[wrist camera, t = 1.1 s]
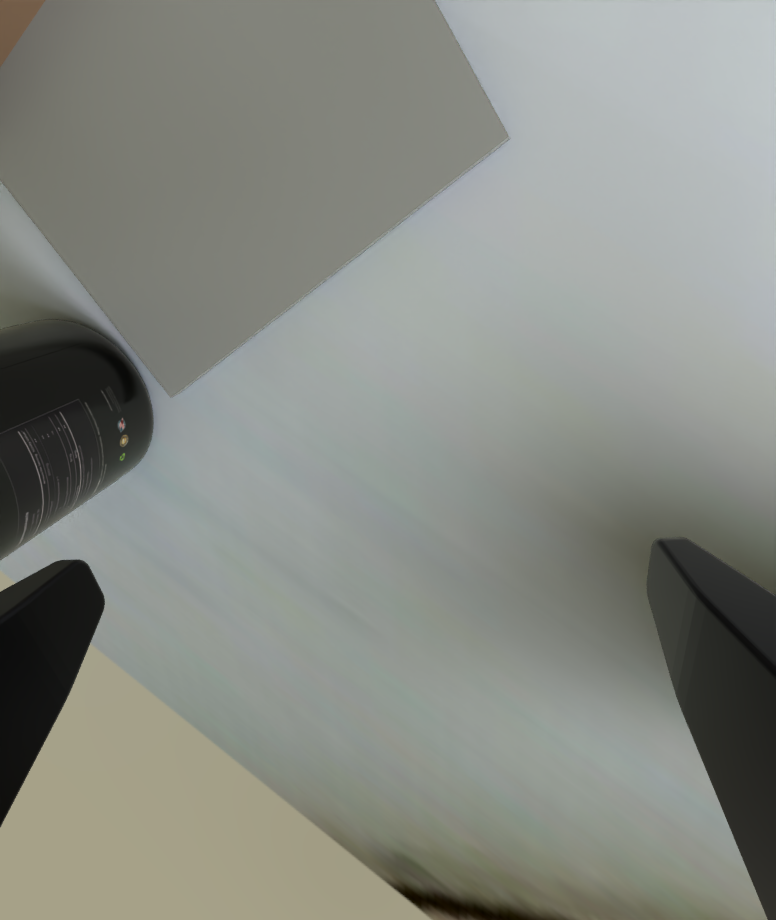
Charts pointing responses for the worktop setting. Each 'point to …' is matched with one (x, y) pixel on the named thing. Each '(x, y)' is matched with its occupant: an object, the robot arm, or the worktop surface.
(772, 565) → the worktop surface
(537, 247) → the worktop surface
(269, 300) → the shelf board
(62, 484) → the supplement bottle
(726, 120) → the worktop surface
